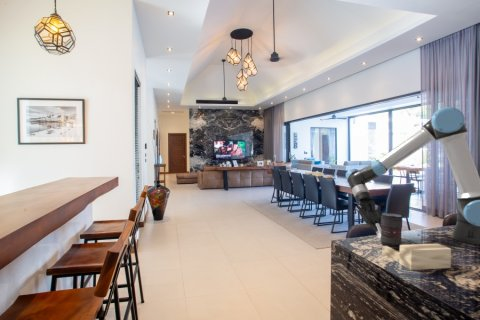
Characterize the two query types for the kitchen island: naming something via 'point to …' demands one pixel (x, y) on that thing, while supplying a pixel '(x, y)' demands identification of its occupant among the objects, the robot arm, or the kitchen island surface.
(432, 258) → the cradle
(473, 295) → the kitchen island surface
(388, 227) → the camera lens
